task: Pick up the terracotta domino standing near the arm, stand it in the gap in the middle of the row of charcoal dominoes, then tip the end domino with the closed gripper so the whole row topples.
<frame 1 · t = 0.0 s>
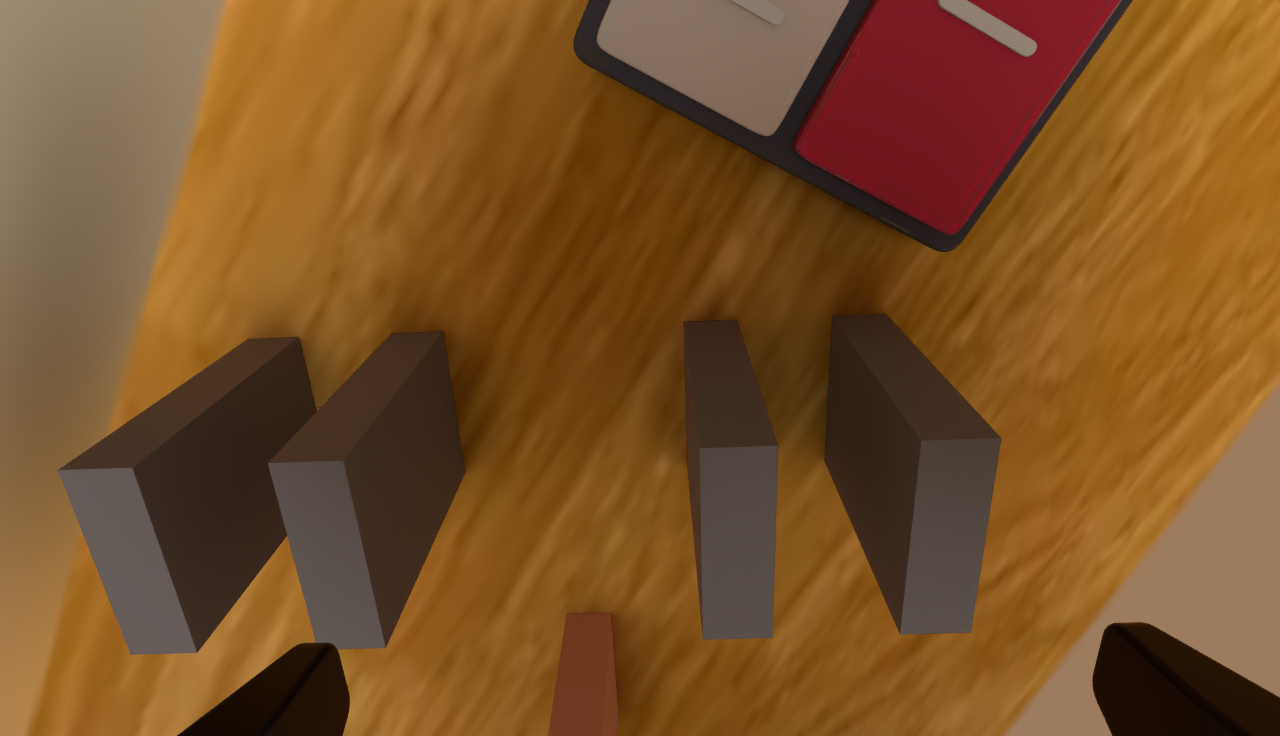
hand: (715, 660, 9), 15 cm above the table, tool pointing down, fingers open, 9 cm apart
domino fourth: (710, 395, 24), on the table
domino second: (429, 405, 24), on the table
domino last: (853, 390, 23), on the table
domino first: (291, 410, 24), on the table
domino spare: (593, 666, 28), on the table
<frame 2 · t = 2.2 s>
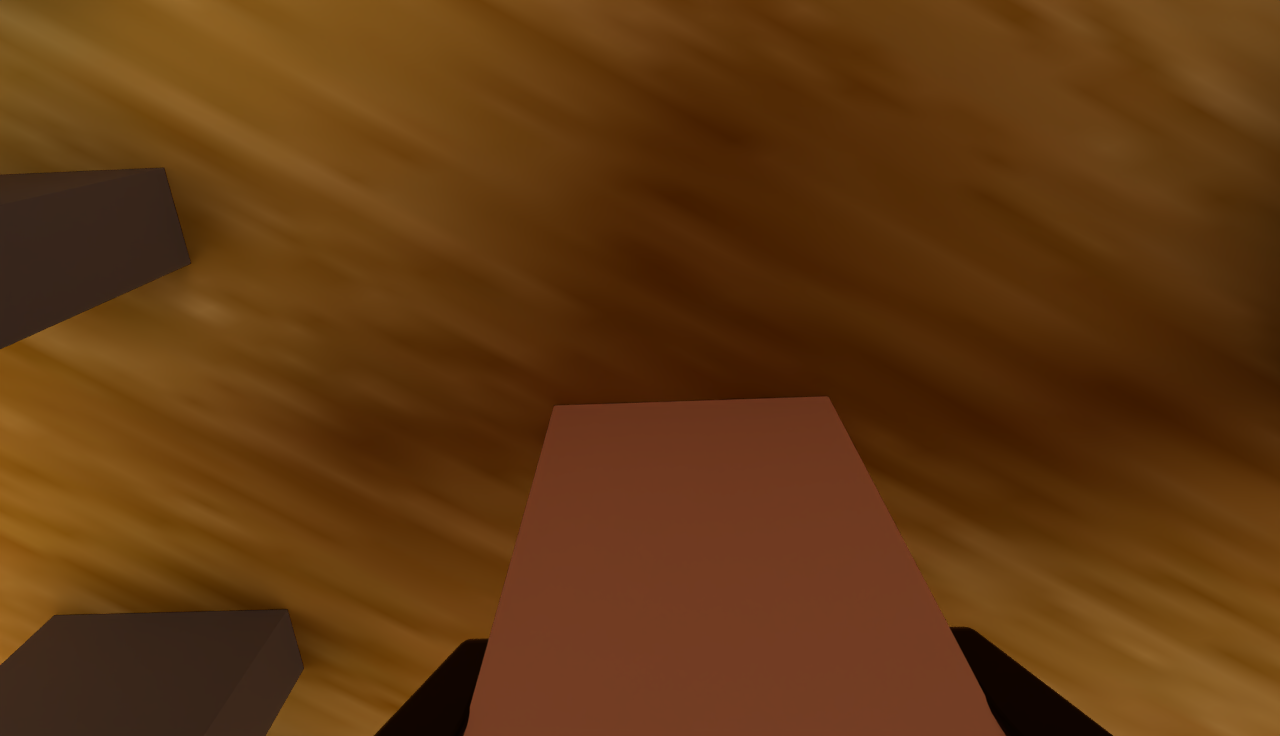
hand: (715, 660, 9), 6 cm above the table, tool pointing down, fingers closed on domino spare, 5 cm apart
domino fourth: (31, 222, 12), on the table
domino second: (180, 642, 16), on the table
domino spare: (691, 439, 14), on the table, touching gripper
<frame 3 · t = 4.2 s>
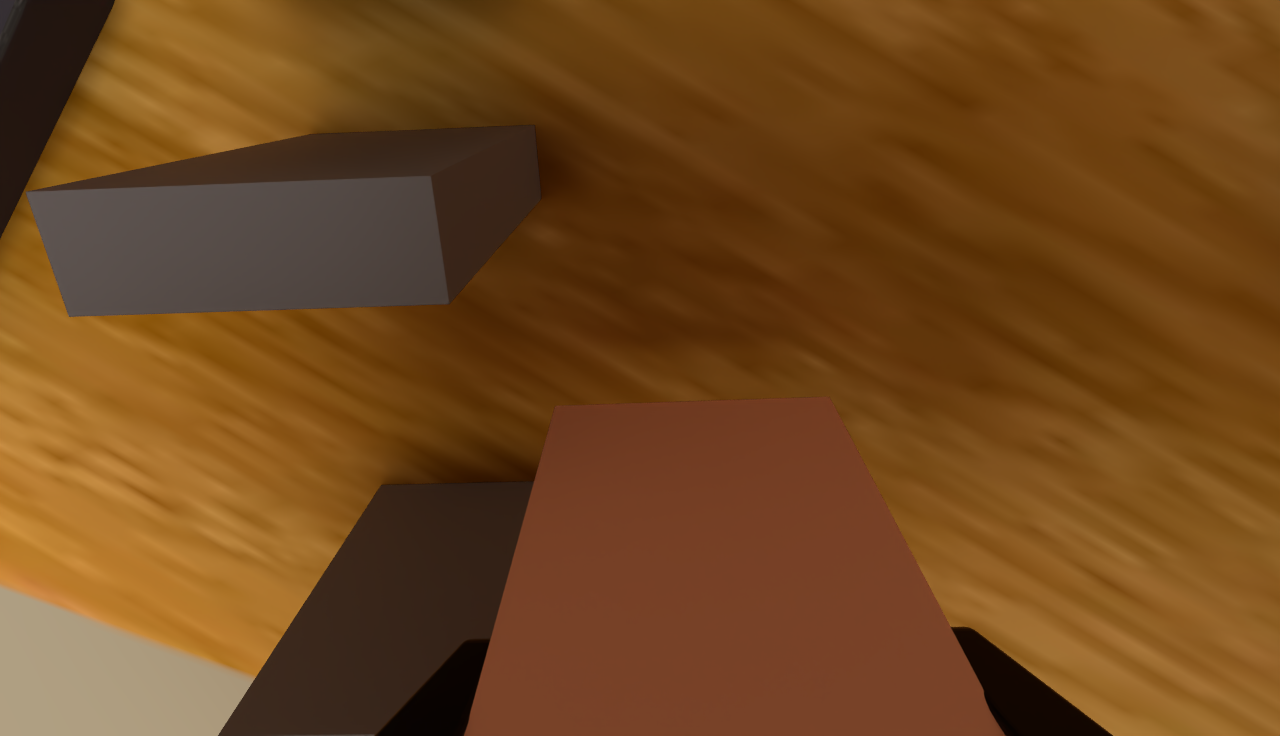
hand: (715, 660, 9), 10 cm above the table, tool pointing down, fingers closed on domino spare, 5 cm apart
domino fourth: (427, 166, 17), on the table
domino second: (477, 508, 20), on the table
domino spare: (692, 440, 14), point 5 cm above the table, touching gripper
when the fingers open (7 cm above the table, at t = 6.3 s): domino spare drops 1 cm, on the table.
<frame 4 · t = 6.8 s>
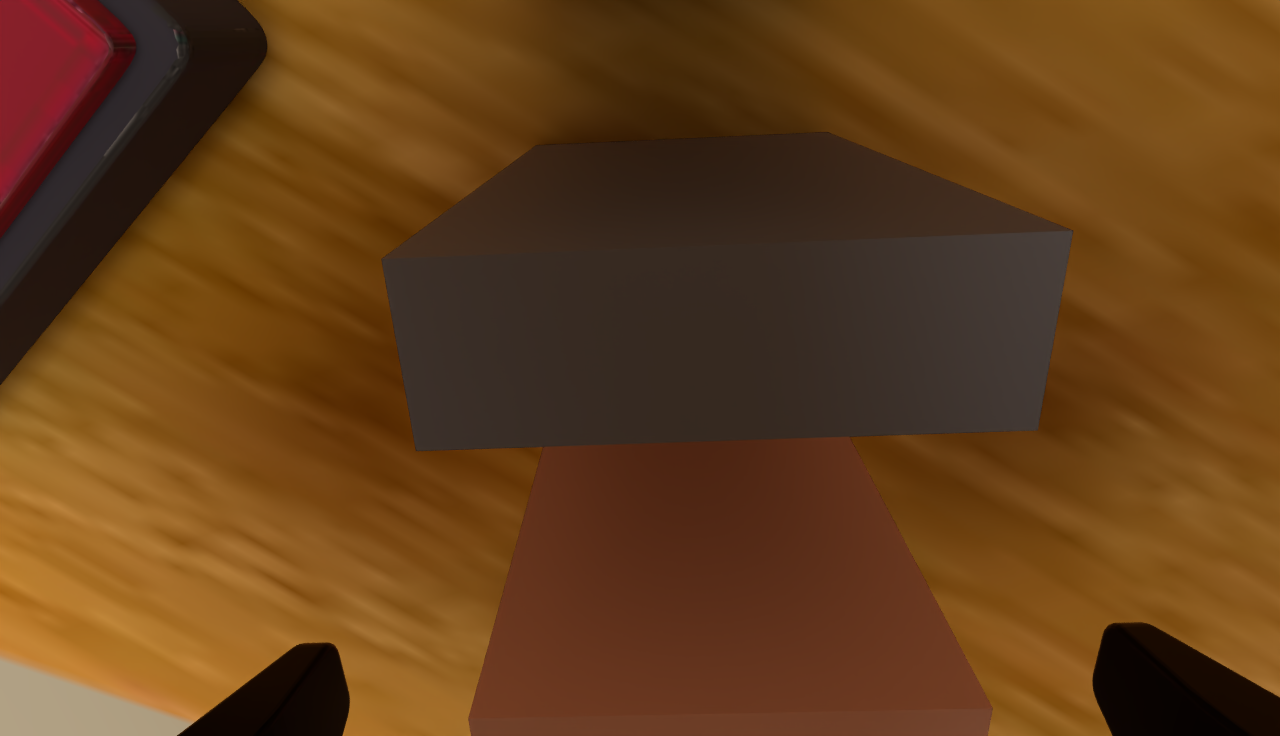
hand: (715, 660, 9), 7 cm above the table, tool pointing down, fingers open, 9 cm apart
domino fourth: (682, 186, 13), on the table
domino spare: (689, 416, 15), on the table
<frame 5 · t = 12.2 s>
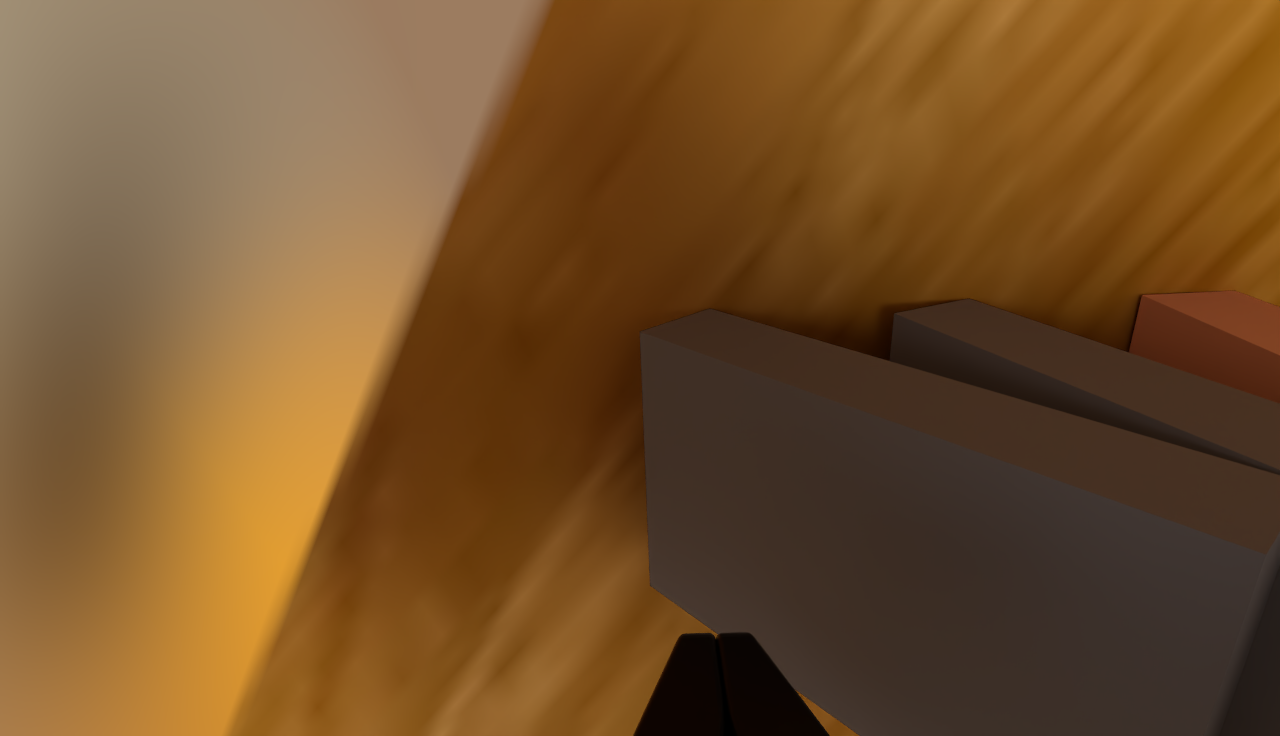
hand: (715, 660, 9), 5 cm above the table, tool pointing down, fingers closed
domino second: (916, 438, 13), on the table, tilted 24°
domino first: (678, 452, 13), point 1 cm above the table, tilted 42°
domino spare: (1154, 424, 14), on the table
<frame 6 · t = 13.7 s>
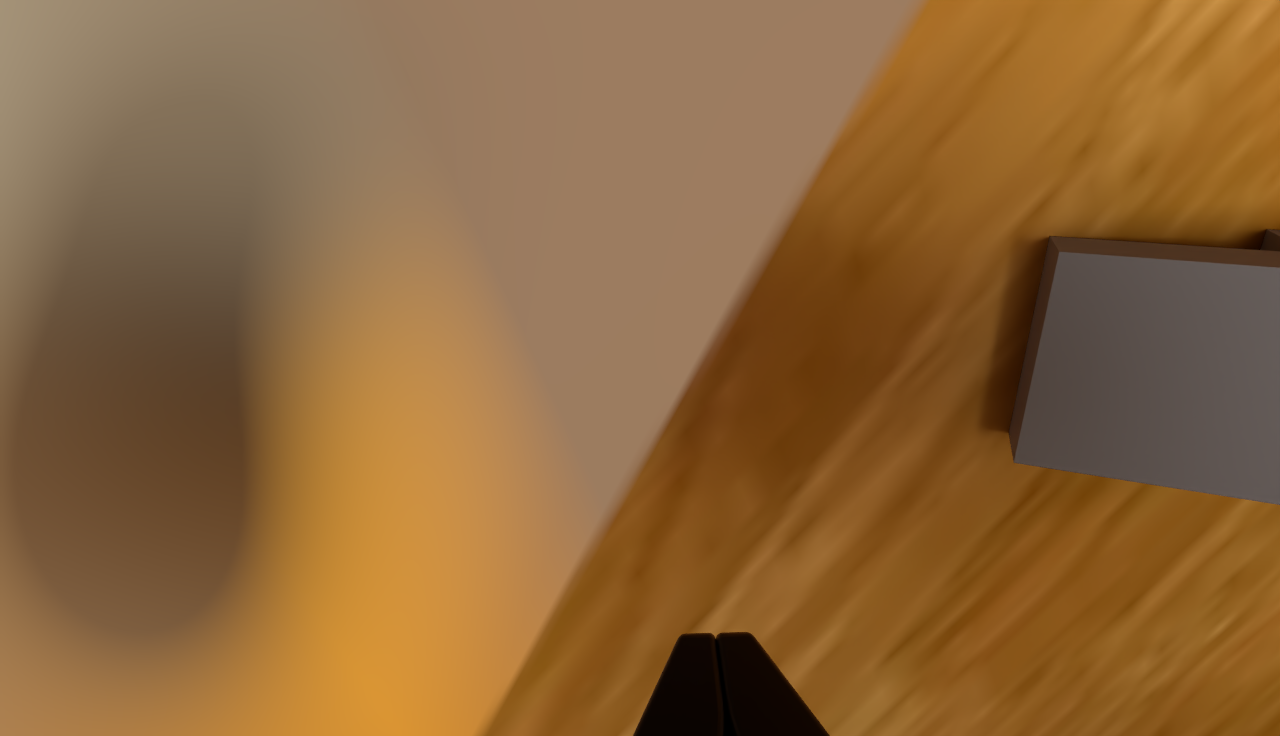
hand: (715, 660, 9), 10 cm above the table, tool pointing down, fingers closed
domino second: (1244, 345, 17), point 1 cm above the table, tilted 70°, touching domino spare
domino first: (1031, 351, 17), point 1 cm above the table, tilted 70°
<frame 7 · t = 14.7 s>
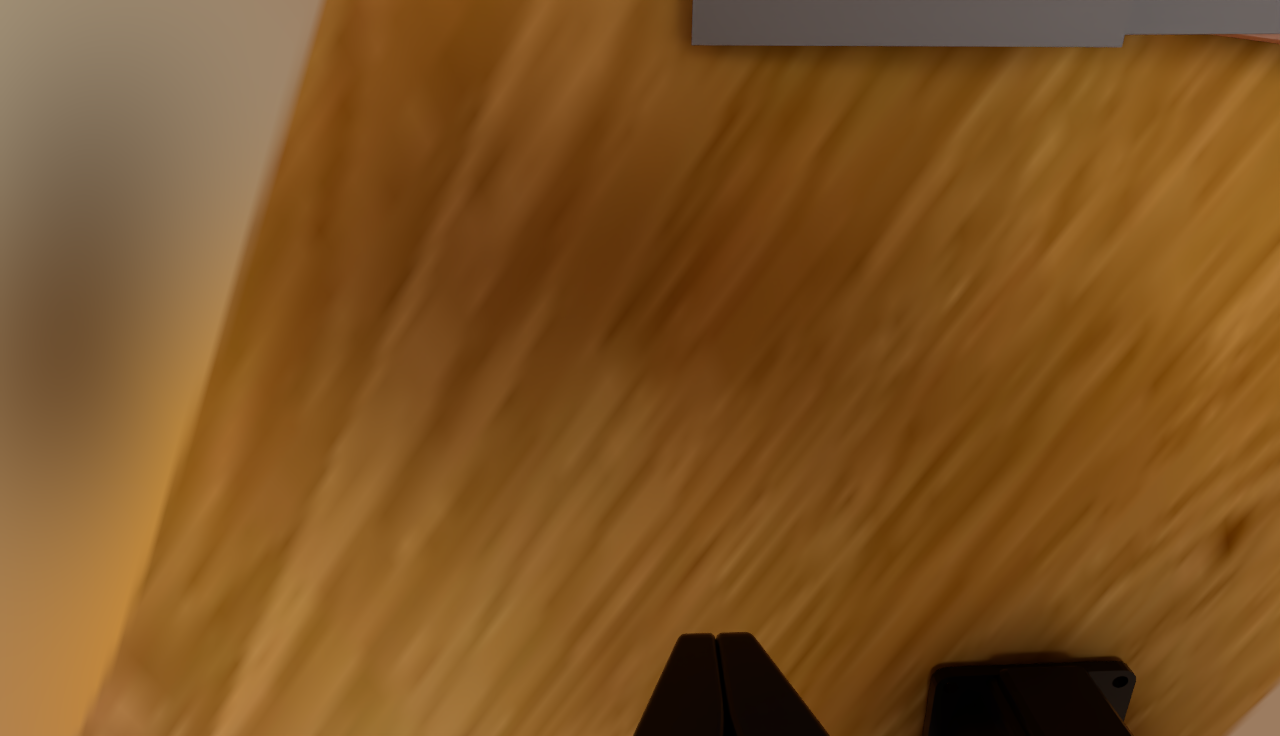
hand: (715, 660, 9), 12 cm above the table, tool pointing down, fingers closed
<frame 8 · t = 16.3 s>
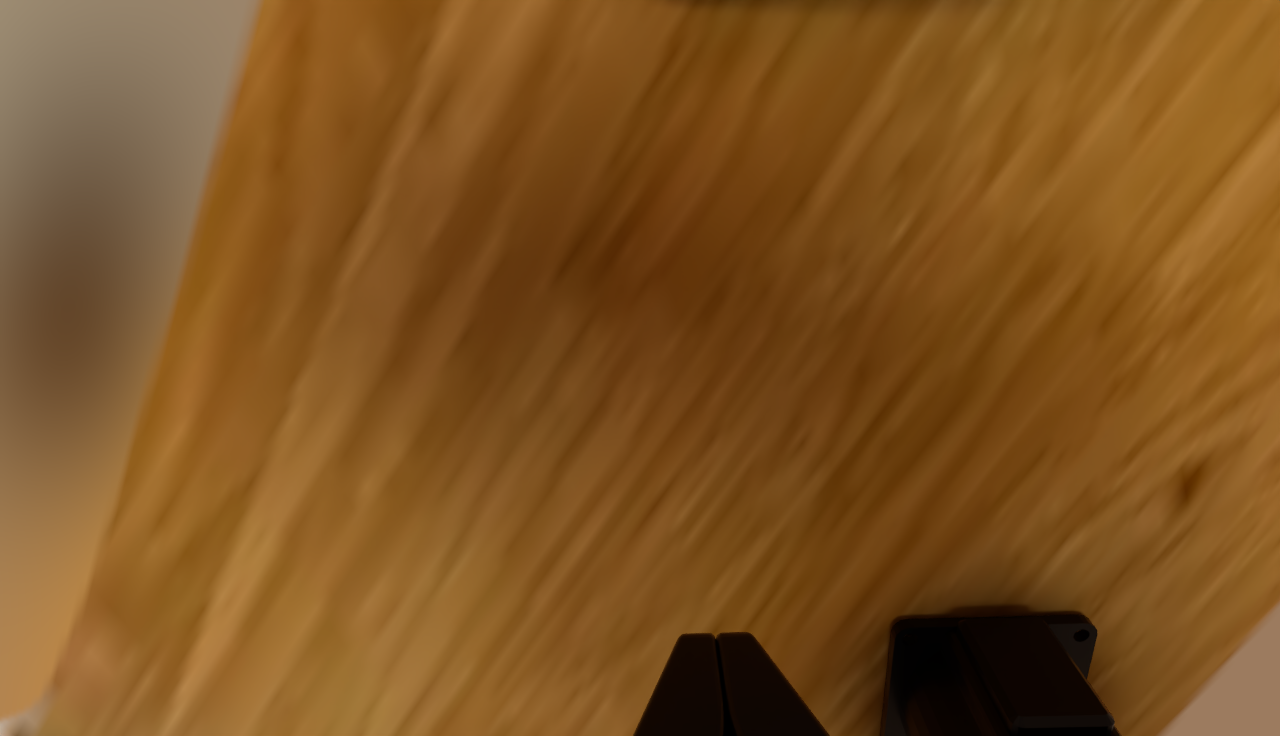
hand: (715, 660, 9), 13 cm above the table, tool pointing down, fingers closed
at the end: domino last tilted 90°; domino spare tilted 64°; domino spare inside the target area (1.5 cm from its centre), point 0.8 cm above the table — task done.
